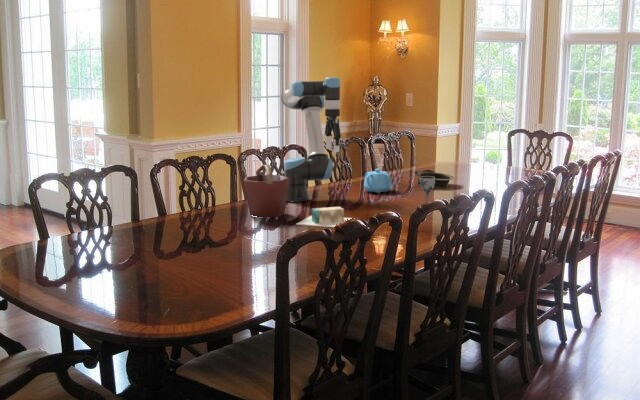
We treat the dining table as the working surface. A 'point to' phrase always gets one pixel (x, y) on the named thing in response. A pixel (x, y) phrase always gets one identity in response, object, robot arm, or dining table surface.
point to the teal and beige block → (327, 215)
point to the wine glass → (427, 184)
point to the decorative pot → (377, 181)
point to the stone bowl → (436, 178)
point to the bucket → (266, 193)
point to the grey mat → (309, 222)
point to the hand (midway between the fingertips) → (332, 150)
